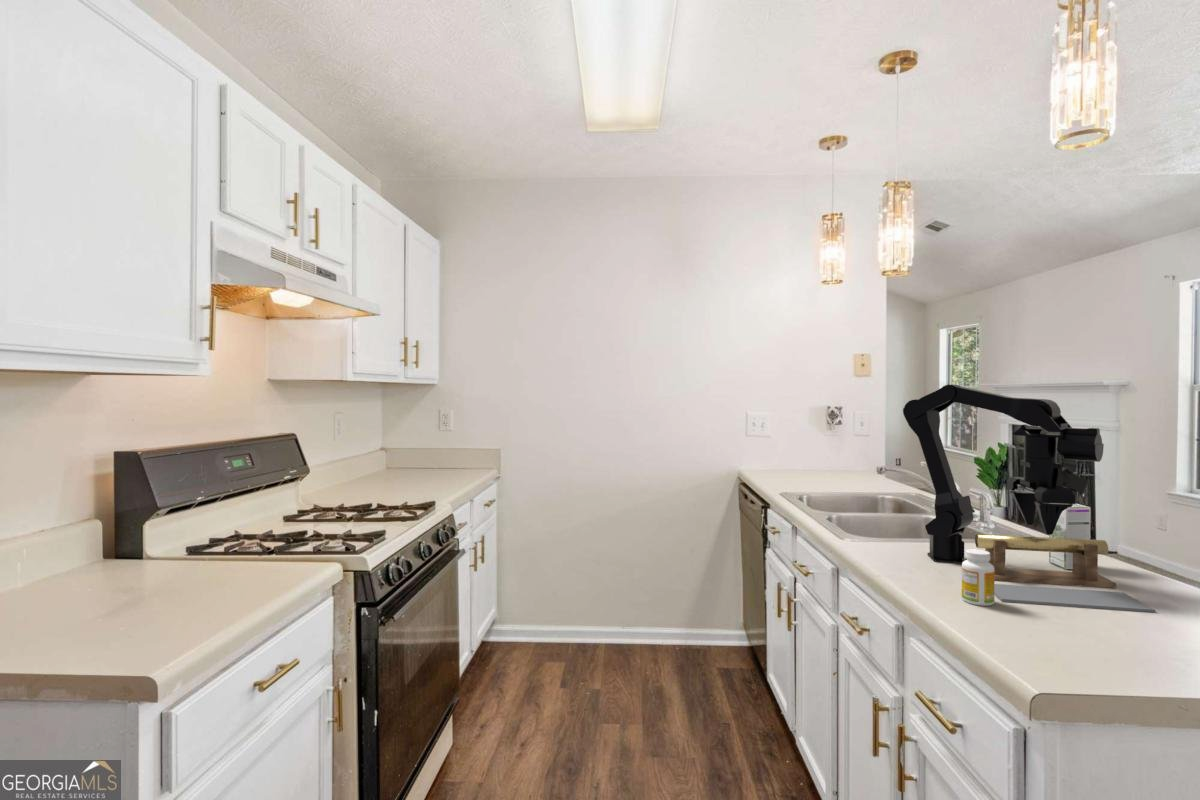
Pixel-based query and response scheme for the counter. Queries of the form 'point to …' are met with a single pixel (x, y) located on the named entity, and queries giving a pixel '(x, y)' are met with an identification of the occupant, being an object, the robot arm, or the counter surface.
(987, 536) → the brass rail
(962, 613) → the counter surface
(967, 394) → the robot arm
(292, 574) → the counter surface
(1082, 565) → the cradle rack
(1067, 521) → the syrup box
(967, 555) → the supplement bottle
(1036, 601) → the slate mat
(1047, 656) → the counter surface
